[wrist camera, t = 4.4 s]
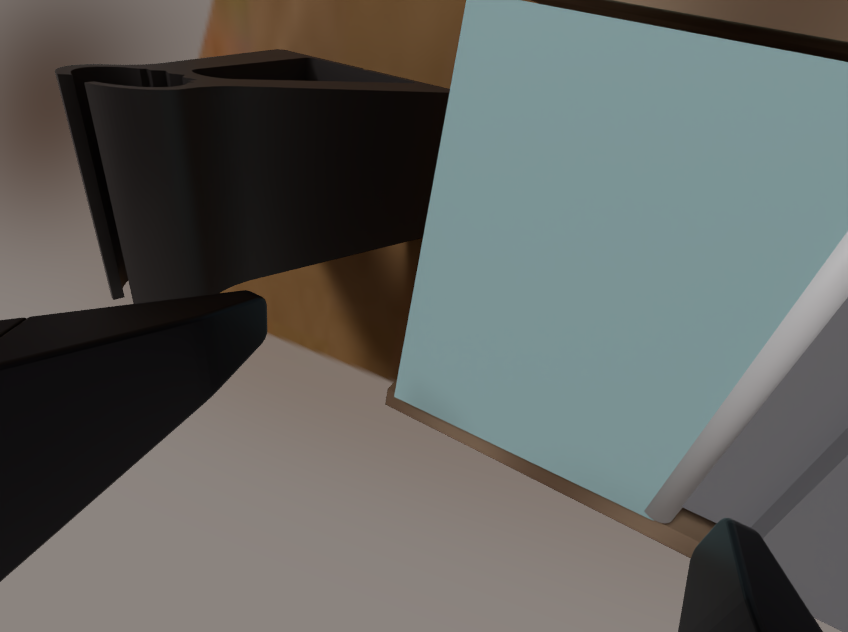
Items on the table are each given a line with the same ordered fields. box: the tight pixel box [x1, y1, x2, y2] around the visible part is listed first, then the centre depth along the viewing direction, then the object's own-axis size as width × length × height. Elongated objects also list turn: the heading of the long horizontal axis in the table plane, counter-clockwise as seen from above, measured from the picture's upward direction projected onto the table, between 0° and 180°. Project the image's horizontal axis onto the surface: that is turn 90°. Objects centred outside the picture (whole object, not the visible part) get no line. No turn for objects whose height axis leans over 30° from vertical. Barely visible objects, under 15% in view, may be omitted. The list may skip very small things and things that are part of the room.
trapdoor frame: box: [386, 0, 848, 558], centre depth 15 cm, size 12×14×7 cm
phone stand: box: [55, 49, 450, 304], centre depth 16 cm, size 9×6×12 cm, turn 78°
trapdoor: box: [394, 0, 848, 632], centre depth 12 cm, size 14×12×3 cm
